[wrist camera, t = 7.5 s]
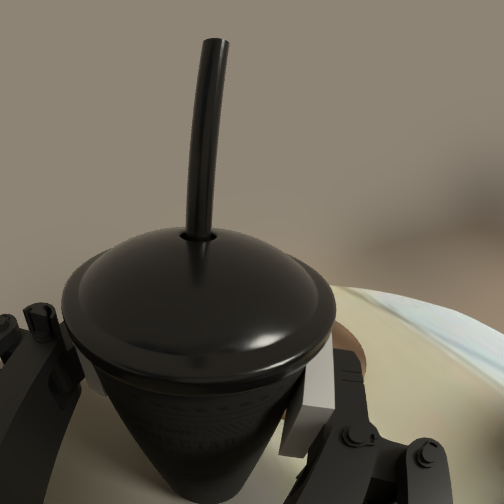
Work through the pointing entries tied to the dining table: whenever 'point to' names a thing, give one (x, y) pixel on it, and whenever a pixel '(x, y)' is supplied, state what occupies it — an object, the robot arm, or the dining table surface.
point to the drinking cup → (199, 327)
